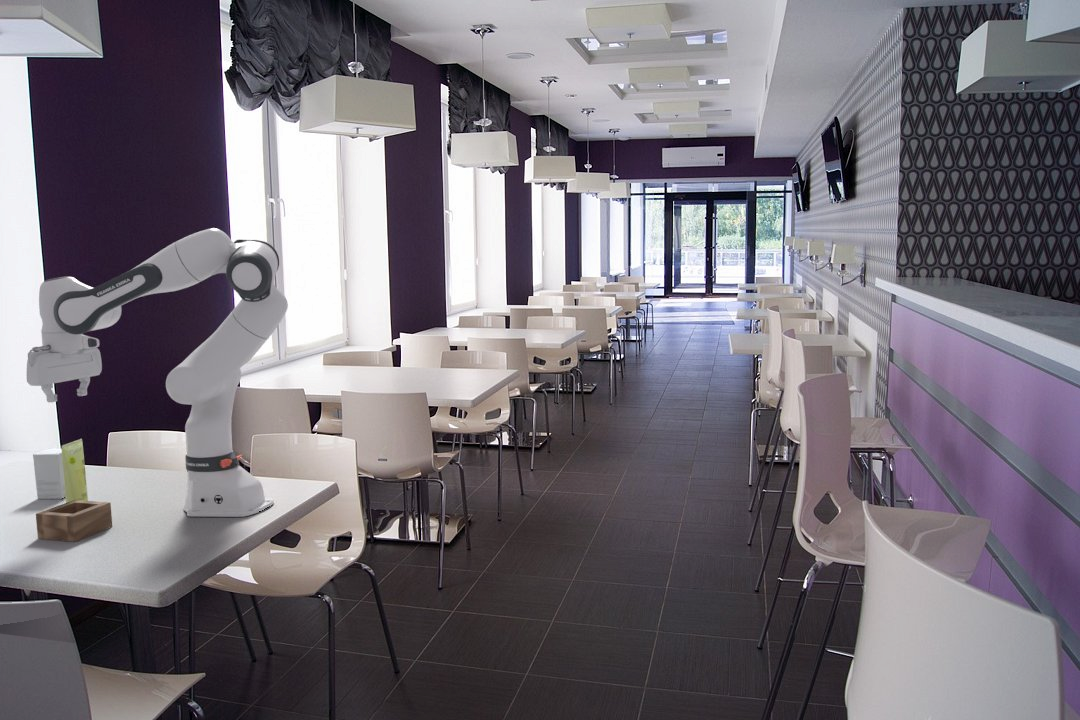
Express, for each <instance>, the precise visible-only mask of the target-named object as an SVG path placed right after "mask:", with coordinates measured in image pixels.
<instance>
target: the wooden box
mask: <svg viewBox="0 0 1080 720" xmlns="http://www.w3.org/2000/svg"><path fill="white" fill-rule="evenodd" d="M35 520H36V532H37V539H38V538H39V539H38V540H47V539H50V540H49V541H59V540H64V541H63V542H70V541H72V543H76V542H78V540H79V541H82V540H83V539H86V538H88V537H91V536H93V535H95V534H98V533H100V532H103V531H105V530H107V528H108V529H110V528H112V527H113V517H112V506H111V501H110V502H108V501H107V502H106V501H93V500H88V501H82V500H73V501H70V502H68V503H66V502H64V503H62V504H60V505H57V506H54V507H51V508H48V509H45V510H43V511H39V512H37V513H35ZM109 527H110V528H109Z"/></svg>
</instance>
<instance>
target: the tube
mask: <svg viewBox="0 0 1080 720" xmlns="http://www.w3.org/2000/svg"><path fill="white" fill-rule="evenodd" d="M83 445H84V444H83V439H82V438H80V439H77V440H74V441H71V442H69V443H65V444H63V445H61V449H62V461H63V473H64V485H65V503H68V502H70V501H73V500H82V501H89V498H88V487H87V476H86V464H85V455H84V446H83Z"/></svg>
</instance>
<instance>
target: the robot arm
mask: <svg viewBox="0 0 1080 720" xmlns="http://www.w3.org/2000/svg"><path fill="white" fill-rule="evenodd" d="M279 267H280V257H279V254H278V252H277V250H276V248H275V247H274V246H273V245H272V244H271V243H269V242H267V241H264V240H261V239H236V240H234V241H232V239H231V238H230V236H229V235H228V234H227V233H226V232H224V231H223V230H221V229H219V228H215V227H212V228H207V229H204V230H200V231H198V232H194V233H192V234H189V235H187V236H185V237H183V238H181V239H179V240H176V241H174V242H172V243H171V244H169V245H167V246H165V248H162V249H160V250H159V251H158V252H157V253H155V254H154V255H152V256H151V257H149V258H147V259H146V260H144V261H143V262H141V263H140V264H138V265H136V266H135V267H133V268H132V269H130V270H127V271H126V272H124V273H122V274H120V275H118V276H116V277H114V278H112V279H110V280H107V281H106V282H103V283H101V284H99V285H97V286H95V287H93V286H90V285H88V284H85V283H83V282H81V281H80V280H78V279H76V278H75V277H74V276H60V277H53V278H49V279H46V280H44V281H43V282H42V283H41V284H40V286H39V293H38V307H39V316H40V318H41V323H42V325H41V330H40V331H41V332H40V333H41V342H42V345H40V346H34V347H32V348H31V349H30V350H29V351H28V352H27V361H26V383H28V385H29V386H31V387H33V386H34V387H40V388H41V391H43V393H44V395H45V397H46V402H47V403H55V402H58V394H57V393H54V391H53V388H54V384H57V383H63V382H70V381H75V380H78V381H79V382H80V384H79V387H78V388H77V389H76V392H77V393H76V395H77V396H78V397H83V396H87V395H88V387H89V386H90V382H91V377H96V376H100V375H101V373H102V370H103V363H102V356H101V352H100V349H99V348H98V347H100V339H98V338H96V337H92V336H89V335H85V333H88V332H92V331H97V330H102V329H107V328H109V327H112V326H114V325H115V324H116V323H118V321H120V318H121V316H122V311H123V308H122V306H123V305H125V304H128V303H129V302H132V301H133V300H135V299H138V298H139V299H140V297H146V296H149V295H150V296H151V295H154V294H155V295H156V294H162V293H170V292H176V291H181V290H185V289H188V288H189V287H192V286H194V285H197V284H199V283H200V282H203V281H205V280H207V279H209V278H210V277H212V276H215V275H217V274H225V275H226V279H227V282H228V284H229V285H230V287H232V288H231V289H233V290H234V291H235V292H236V293H237V295H238V296H239V297H240V298H241V300H240V301H239V302H238V304H237V305H236V306H235V307H234V308H233V310H232V311H230V313H229V315H227V317H226V318H225V319H224V320H223V322H221V324H220V325H219V326H218V327H217V328H216V330H215V331H214V332H212V334H211V335H210V336H209V337H208V338H207V339H205V341H203V342H202V343H201V344H200V345H199V346H198V347H197V348H195V349H194V350H193V351H192V352H191V353H190V354H189V355H188V356H187V357H185V359H183V361H182V362H181V363H179V364H178V365H177V366H175V367H174V368H173V369H172V370H170V372H169V373H168V374H167V376H166V379H165V389H166V393H167V394H168V396H169V397H170V399H171V400H173V401H175V403H177V404H181V405H191V408H190V409H191V410H190V413H189V416H188V418H187V420H186V423H185V426H184V431H185V444H186V454H185V456H184V457H185V470H186V473H187V483H186V484H187V486H186V487H187V488H186V497H185V502H184V506H183V510H184V511H185V512H186V513H187V514H186V515H187V517H209V518H210V517H217V518H218V517H221V518H223V517H227V518H228V517H229V518H230V517H231V518H232V517H233V518H235V517H236V518H237V517H238V518H239V517H241V518H242V517H247V516H251V515H255V514H258V513H260V512H259V511H261V512H263V511H265V510H266V509H265V508H267V507H269V506H270V507H271V505H272V504H273V505H274V503H273V502H274V499H273V498H271V497H266V496H265V493H264V487H263V485H262V482H261V481H260V480H259V479H258V478H256V477H255V476H254V475H253V474H251V473H250V472H248V471H247V469H245V468H243V467H242V466H241V465H240V462H239V461H240V460H242V459H243V457H242V456H243V454H239V455H236V453H235V451H234V450H233V440H232V439H233V437H232V435H233V434H232V417H233V416H232V415H233V408H234V403H235V397H236V391H237V389H238V385H240V382H241V380H242V371H241V368H242V367H243V366H244V365H246V364H247V363H248V362H250V361H251V360H252V358H253V357H254V356H255V355H256V354H257V352H258V351H259V350H260V349H261V348H262V346H263V345H265V343H266V342H267V340H269V338H270V337H271V336H272V334H274V332H275V330H276V329H277V328H278V326H279V325H280V323H281V321H282V320H283V318H284V316H285V315H286V313H287V310H288V308H289V304H288V300H287V297H286V296H285V295H284V293H283V292H282V291H280V289H278V288H277V287H276V286H275V284H274V281H275V278H276V274H277V272H278V270H279ZM273 505H272V506H273ZM270 507H269V508H270ZM264 509H265V510H264ZM267 509H268V508H267ZM262 510H263V511H262Z"/></svg>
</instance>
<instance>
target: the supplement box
mask: <svg viewBox="0 0 1080 720" xmlns="http://www.w3.org/2000/svg"><path fill="white" fill-rule="evenodd" d="M32 458H33V459H32V460H33V467H34V479H35V487H36V497H37V499H38V500H42V499H43V500H63V499H64V497H65V485H64V473H63V461H62V448H48V449H45V450H41V451H39V452H36V453H34V454H32ZM62 498H63V499H62ZM65 498H66V497H65Z"/></svg>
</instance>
